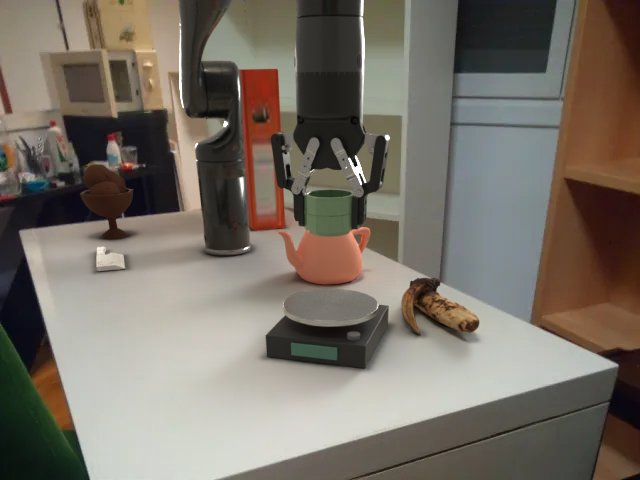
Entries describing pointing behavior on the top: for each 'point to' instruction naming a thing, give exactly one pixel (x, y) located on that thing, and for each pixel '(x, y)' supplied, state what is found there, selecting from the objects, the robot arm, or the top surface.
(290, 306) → the scale pan
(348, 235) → the teapot
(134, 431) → the top surface
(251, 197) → the file binder
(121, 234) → the ice cream bowl
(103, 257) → the white slab with peg
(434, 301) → the partly peeled banana
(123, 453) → the top surface
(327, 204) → the green cup
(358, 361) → the scale
